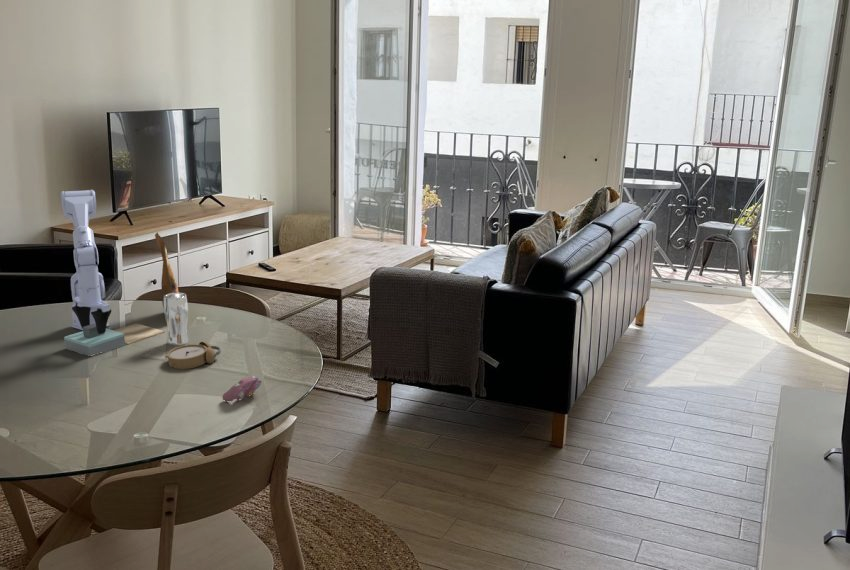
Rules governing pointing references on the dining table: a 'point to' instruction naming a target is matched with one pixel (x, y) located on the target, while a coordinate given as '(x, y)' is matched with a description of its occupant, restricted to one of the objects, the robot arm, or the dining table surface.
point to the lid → (93, 336)
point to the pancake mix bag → (166, 271)
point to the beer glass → (176, 318)
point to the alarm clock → (192, 355)
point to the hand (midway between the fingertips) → (93, 330)
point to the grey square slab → (97, 348)
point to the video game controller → (242, 388)
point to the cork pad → (137, 332)
